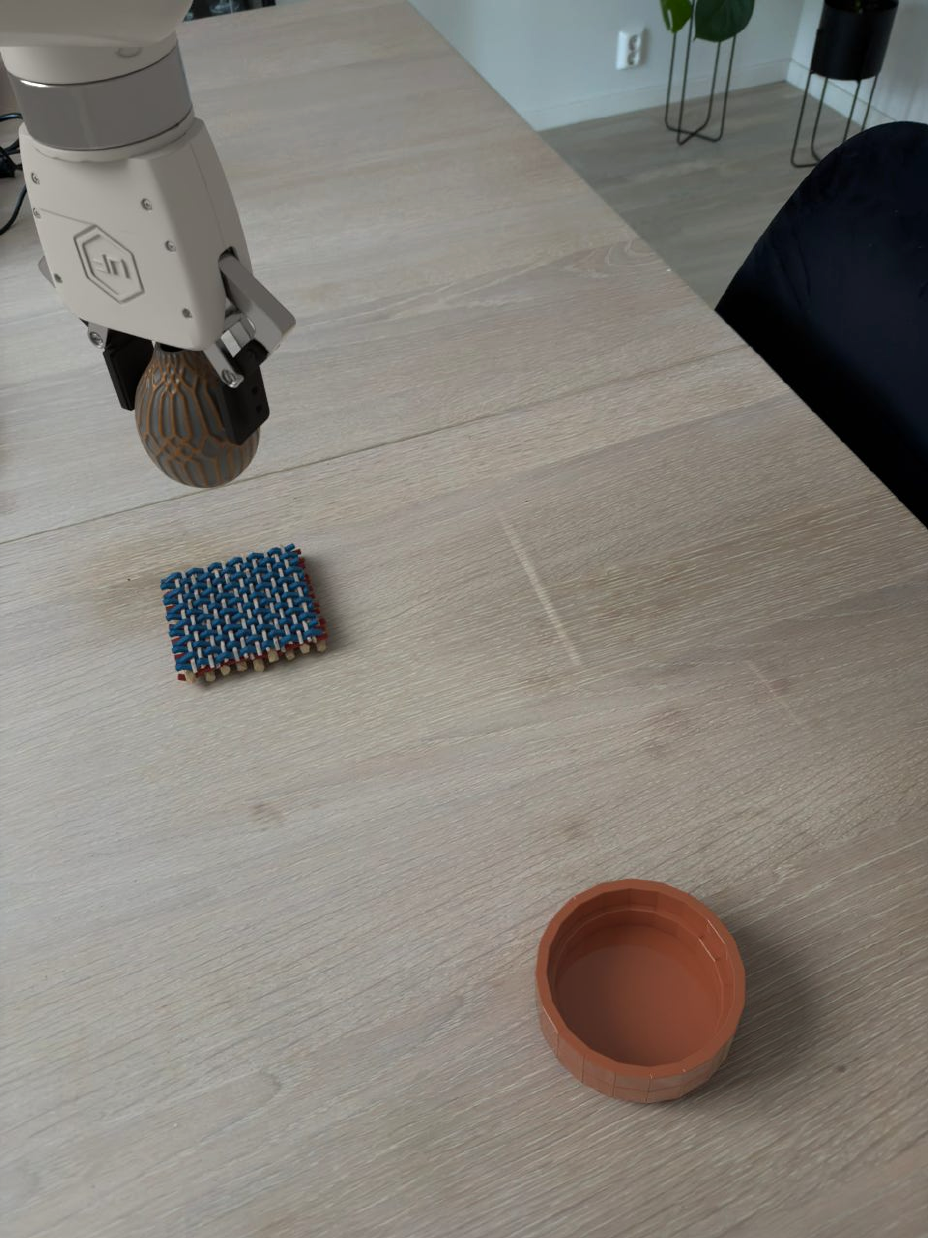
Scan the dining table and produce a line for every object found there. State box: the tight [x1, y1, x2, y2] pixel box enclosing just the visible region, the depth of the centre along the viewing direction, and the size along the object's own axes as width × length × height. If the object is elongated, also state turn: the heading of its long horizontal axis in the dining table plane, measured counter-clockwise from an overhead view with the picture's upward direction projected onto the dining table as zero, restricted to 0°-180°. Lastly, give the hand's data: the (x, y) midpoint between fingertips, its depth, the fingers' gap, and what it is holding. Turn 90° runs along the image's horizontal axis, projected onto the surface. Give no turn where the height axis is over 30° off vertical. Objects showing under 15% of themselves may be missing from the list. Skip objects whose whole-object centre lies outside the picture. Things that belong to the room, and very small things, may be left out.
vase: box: [134, 341, 261, 489], centre depth 62 cm, size 7×7×9 cm
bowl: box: [534, 878, 747, 1104], centre depth 56 cm, size 10×10×4 cm
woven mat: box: [159, 542, 329, 685], centre depth 77 cm, size 10×11×2 cm
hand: (195, 411), depth 62 cm, fingers closed on vase, 6 cm apart
